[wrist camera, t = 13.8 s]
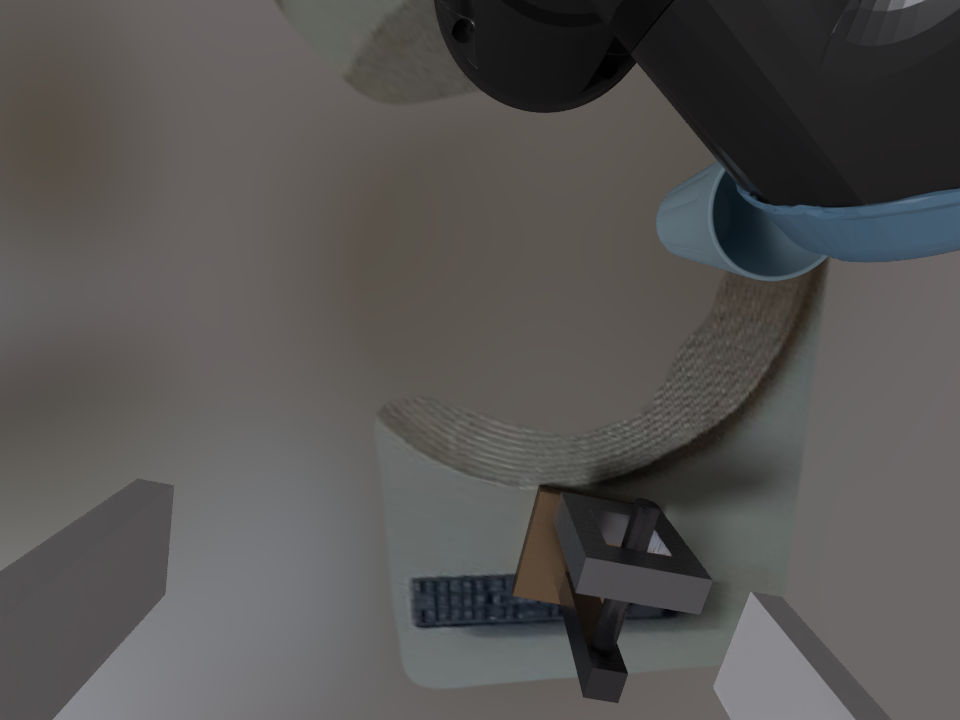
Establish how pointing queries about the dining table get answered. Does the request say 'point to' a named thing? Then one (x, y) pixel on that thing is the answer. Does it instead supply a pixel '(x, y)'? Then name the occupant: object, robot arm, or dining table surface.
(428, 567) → the dining table surface
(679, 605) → the link
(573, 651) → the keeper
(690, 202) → the cup
